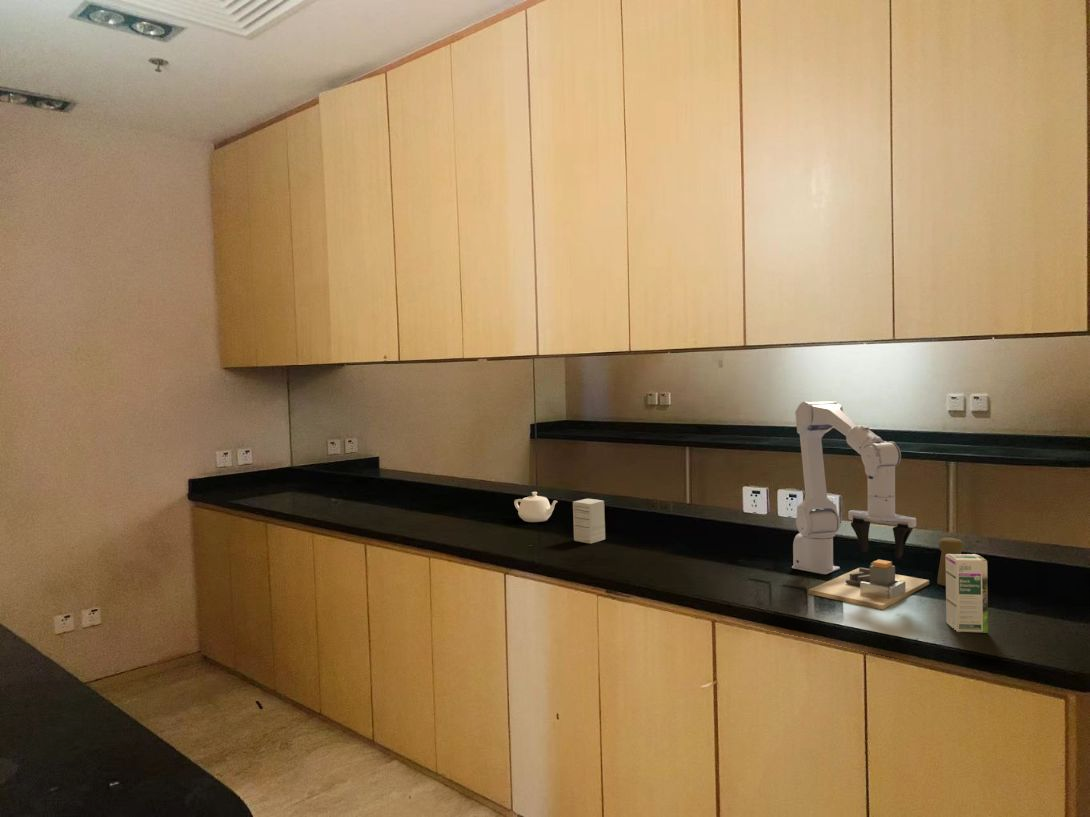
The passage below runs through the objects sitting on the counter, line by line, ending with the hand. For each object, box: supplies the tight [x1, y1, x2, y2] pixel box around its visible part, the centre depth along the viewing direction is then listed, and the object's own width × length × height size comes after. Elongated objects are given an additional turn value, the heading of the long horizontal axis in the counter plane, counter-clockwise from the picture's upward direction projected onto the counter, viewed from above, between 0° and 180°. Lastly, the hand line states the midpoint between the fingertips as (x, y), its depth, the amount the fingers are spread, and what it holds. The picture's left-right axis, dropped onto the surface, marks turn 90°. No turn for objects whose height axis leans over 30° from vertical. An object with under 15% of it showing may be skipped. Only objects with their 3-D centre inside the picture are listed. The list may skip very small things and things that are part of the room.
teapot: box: [513, 491, 558, 523], centre depth 268 cm, size 20×12×10 cm, turn 52°
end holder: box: [860, 579, 906, 599], centre depth 167 cm, size 7×8×2 cm
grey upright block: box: [869, 558, 896, 586], centre depth 168 cm, size 6×4×7 cm
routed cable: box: [846, 578, 870, 586], centre depth 174 cm, size 8×8×1 cm
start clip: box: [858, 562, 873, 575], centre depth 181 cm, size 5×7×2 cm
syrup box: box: [945, 553, 989, 634], centre depth 146 cm, size 6×6×14 cm
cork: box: [936, 537, 964, 587], centre depth 175 cm, size 6×6×11 cm
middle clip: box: [850, 572, 870, 582], centre depth 175 cm, size 4×3×2 cm
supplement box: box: [572, 498, 606, 544], centre depth 232 cm, size 7×7×13 cm
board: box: [808, 567, 930, 610], centre depth 173 cm, size 17×26×1 cm, turn 132°
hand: (881, 554), depth 167 cm, fingers open, 7 cm apart
